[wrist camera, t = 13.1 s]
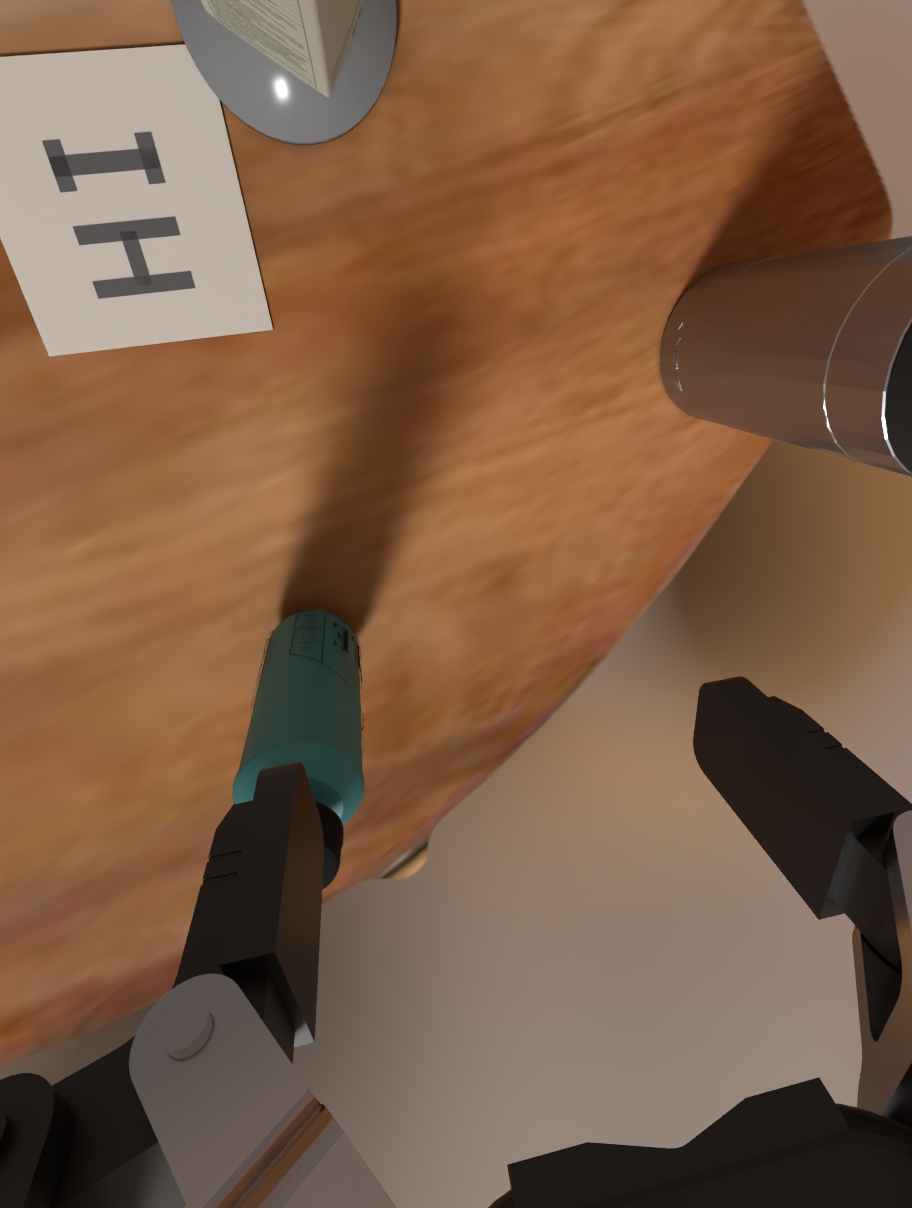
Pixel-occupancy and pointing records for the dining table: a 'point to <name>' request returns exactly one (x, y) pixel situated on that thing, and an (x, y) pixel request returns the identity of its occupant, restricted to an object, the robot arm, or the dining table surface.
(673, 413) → the dining table surface
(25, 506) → the dining table surface
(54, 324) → the card
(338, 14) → the skincare box
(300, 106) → the slate coaster
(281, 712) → the beverage bottle
